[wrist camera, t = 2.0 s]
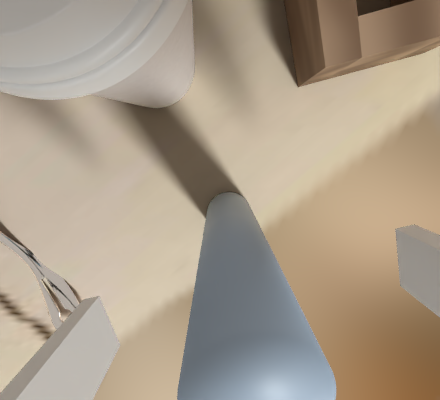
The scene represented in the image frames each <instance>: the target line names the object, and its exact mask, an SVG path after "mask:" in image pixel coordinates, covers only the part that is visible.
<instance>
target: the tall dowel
mask: <svg viewBox="0 0 440 400" xmlns="http://www.w3.org/2000/svg"><path fill="white" fill-rule="evenodd" d="M335 398H336V382H335V378H334V374H333V372H332V370H331V368H330V366H329V364H328V362H327V360H326V358H325V356H324V354H323V352H322V350H321V348H320V346H319V344H318V342H317V340H316V338H315V336H314V334H313V332H312V330H311V328H310V326H309V324H308V322H307V320H306V318H305V316H304V314H303V312H302V310H301V308H300V306H299V304H298V302H297V300H296V298H295V296H294V294H293V292H292V290H291V288H290V286H289V284H288V282H287V280H286V278H285V276H284V274H283V272H282V270H281V268H280V266H279V264H278V262H277V260H276V258H275V256H274V254H273V252H272V250H271V248H270V246H269V244H268V242H267V240H266V238H265V236H264V234H263V232H262V230H261V228H260V226H259V224H258V222H257V220H256V218H255V216H254V214H253V212H252V210H251V208H250V206H249V204H248V202H247V201H246V199H245V198H244V197H242V196H241V195H239V194H237V193H233V192H225V193H221V194H219V195H217V196H216V197H214V198H213V199H212V201H211V202H210V204H209V206H208V209H207V215H206V221H205V227H204V233H203V240H202V246H201V252H200V258H199V264H198V270H197V276H196V282H195V288H194V294H193V300H192V306H191V312H190V318H189V325H188V331H187V337H186V343H185V349H184V355H183V361H182V367H181V373H180V380H179V385H178V396H177V399H178V400H335Z"/></svg>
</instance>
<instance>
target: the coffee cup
mask: <svg viewBox="0 0 440 400" xmlns="http://www.w3.org/2000/svg"><path fill="white" fill-rule="evenodd" d="M194 72H195V55H194V33H193V9H192V0H0V92H4V93H7V94H11V95H15V96H19V97H25V98H32V99H42V100H59V99H70V98H76V97H81V96H85V95H93V96H98V97H103V98H108V99H112V100H117V101H122V102H126V103H131V104H136V105H140V106H145V107H150V108H163V107H167V106H170V105H172V104H174V103H176V102H177V101H179V100H180V99H181V98H182V97H183V96H184V95H185V94H186V93H187V91H188V89H189V88H190V86H191V83H192V81H193V77H194Z"/></svg>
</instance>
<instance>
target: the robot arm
mask: <svg viewBox="0 0 440 400" xmlns="http://www.w3.org/2000/svg"><path fill="white" fill-rule="evenodd" d="M396 241H397V253H398V264H399V275H400V286H401V287H402V288H404V289H405V290H406V291H407V292H409V293H410V294H411V295H412V296H414V297H415V298H416V299H417V300H419V301H420V302H421V303H422V304H424V305H425V306H427V308H429V309H430V310H431V311H433V312H434V313H435V314H436V315H438V316H439V317H440V235H438V234H436V233H433V232H431V231H429V230H426V229H424V228H422V227H419V226H417V225H410V226H406V227H401V228H397V229H396ZM119 347H120V343H119V341H118V339H117V336H116V334H115V332H114V329H113V327H112V325H111V322H110V320H109V318H108V315H107V313H106V311H105V308H104V306H103V304H102V301H101V299H100V297H99V296H97V297H93V298H88V299H84V300H83V301H82V302H81V303H80V304H79V305H78V306H77V307H76V308H75V310H74V311H73V312H72V313H71V314H70V315H69V316H68V318H67V319H66V320H65V321H64V322H63V323H62V324H61V325H60V327H59V328H58V329H57V330H56V331H55V332H54V333H53V334H52V336H51V337H50V338H49V339H48V340H47V341H46V342H45V343H44V345H43V346H42V347H41V348H40V349H39V350H38V351H37V352H36V354H35V355H34V356H33V357H32V358H31V359H30V360H29V362H28V363H27V364H26V365H25V366H24V367H23V368H22V369H21V371H20V372H19V373H18V374H17V375H16V376H15V377H14V378H13V380H12V381H11V382H10V383H9V384H8V385H7V386H6V387H5V389H4V390H3V391H2V392H1V393H0V400H93V398H94V396H95V394H96V392H97V390H98V388H99V386H100V384H101V382H102V380H103V378H104V376H105V374H106V372H107V370H108V368H109V366H110V364H111V362H112V360H113V358H114V356H115V354H116V352H117V350H118V349H119Z"/></svg>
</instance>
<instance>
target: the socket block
mask: <svg viewBox="0 0 440 400" xmlns="http://www.w3.org/2000/svg"><path fill="white" fill-rule="evenodd" d="M284 3H285V10H286V16H287V22H288V28H289V34H290V41H291V47H292V53H293V59H294V65H295V71H296V78H297V84H298V87H300V86H304V85H307V84H311V83H315V82H318V81H322V80H326V79H330V78H333V77H337V76H341V75H344V74H348V73H352V72H355V71H359V70H363V69H366V68H370V67H374V66H378V65H381V64H385V63H389V62H392V61H396V60H400V59H403V58H407V57H411V56H414V55H418V54H422V53H424V52H427V51H429V50H431V49H434V48H436V47H438V46H440V0H391V7H389V8H386V9H382V10H379V11H375V12H372V13H368V14H365V15H361V16H358V12H357V2H356V0H284Z"/></svg>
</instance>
